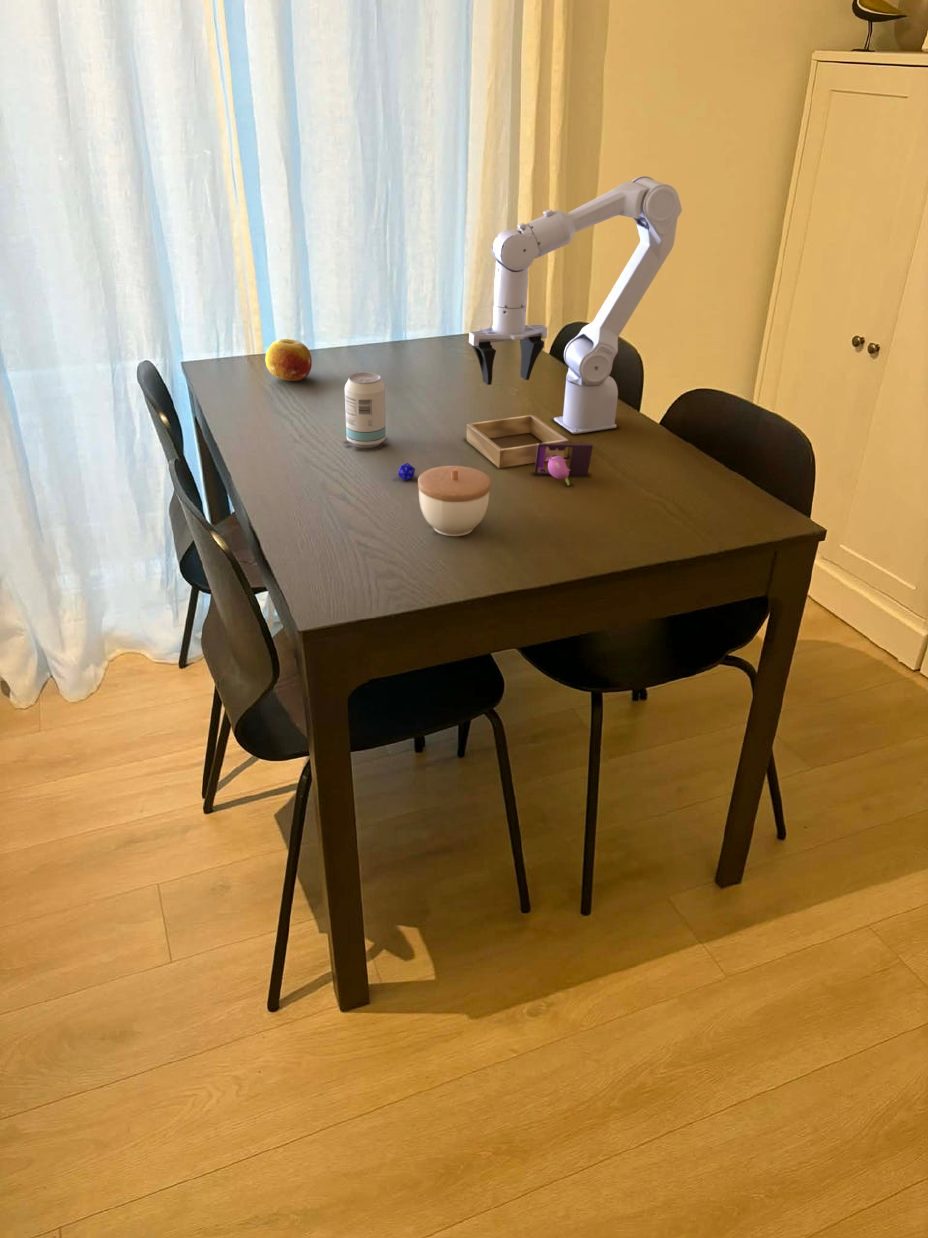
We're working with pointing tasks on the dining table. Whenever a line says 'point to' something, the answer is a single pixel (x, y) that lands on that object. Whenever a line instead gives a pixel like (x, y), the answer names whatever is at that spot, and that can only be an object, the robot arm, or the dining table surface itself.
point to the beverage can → (365, 409)
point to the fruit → (288, 360)
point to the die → (406, 471)
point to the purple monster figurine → (557, 463)
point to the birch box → (512, 426)
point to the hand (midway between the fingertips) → (506, 380)
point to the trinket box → (453, 498)
